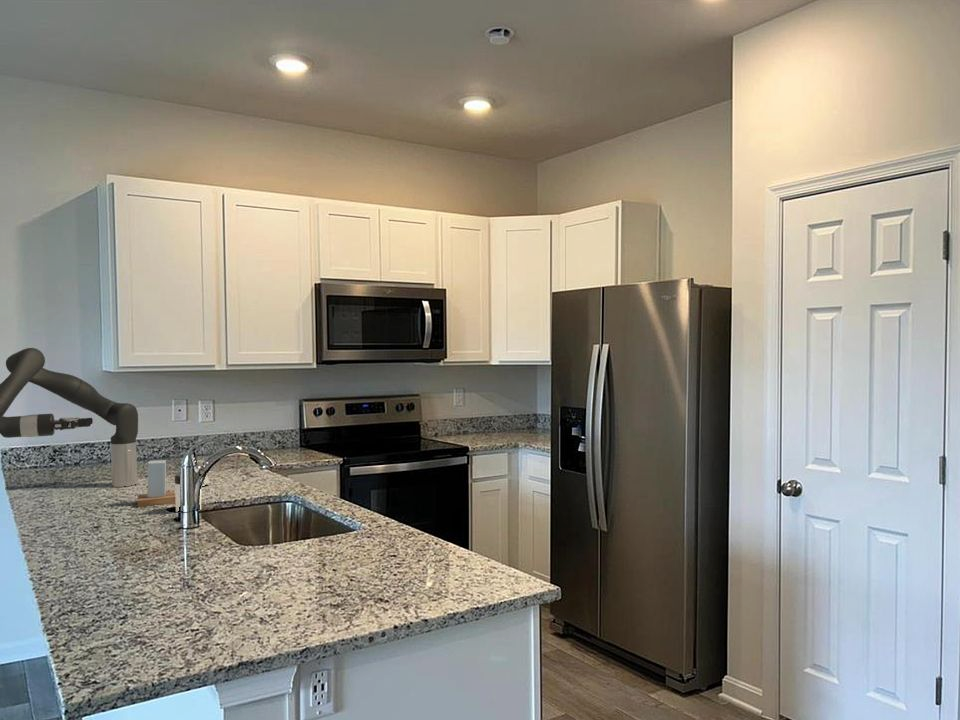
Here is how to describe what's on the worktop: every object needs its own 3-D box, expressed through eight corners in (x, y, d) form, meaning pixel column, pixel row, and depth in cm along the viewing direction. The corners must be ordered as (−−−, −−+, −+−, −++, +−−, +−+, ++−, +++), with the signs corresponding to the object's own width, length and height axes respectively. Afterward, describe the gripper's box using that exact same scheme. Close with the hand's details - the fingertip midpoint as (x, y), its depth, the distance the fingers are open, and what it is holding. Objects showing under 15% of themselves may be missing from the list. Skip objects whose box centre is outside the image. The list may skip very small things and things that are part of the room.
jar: (201, 511, 239) (200, 475, 238) (175, 513, 236) (173, 477, 236) (202, 505, 247) (201, 471, 247) (176, 508, 244) (175, 473, 244)
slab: (138, 503, 258) (138, 494, 258) (174, 499, 263) (174, 491, 263) (137, 509, 247) (137, 500, 247) (175, 505, 252) (175, 497, 252)
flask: (214, 484, 288) (213, 459, 288) (205, 487, 281) (204, 462, 281) (196, 484, 289) (196, 459, 289) (187, 487, 282) (187, 462, 282)
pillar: (148, 494, 256) (149, 460, 256) (165, 493, 258) (165, 460, 258) (147, 497, 251) (147, 463, 250) (164, 496, 253) (164, 462, 252)
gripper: (33, 416, 236) (89, 412, 243) (40, 412, 249) (92, 409, 256) (34, 438, 237) (90, 434, 243) (41, 434, 250) (93, 430, 256)
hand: (91, 421), depth 250 cm, fingers open, 8 cm apart
